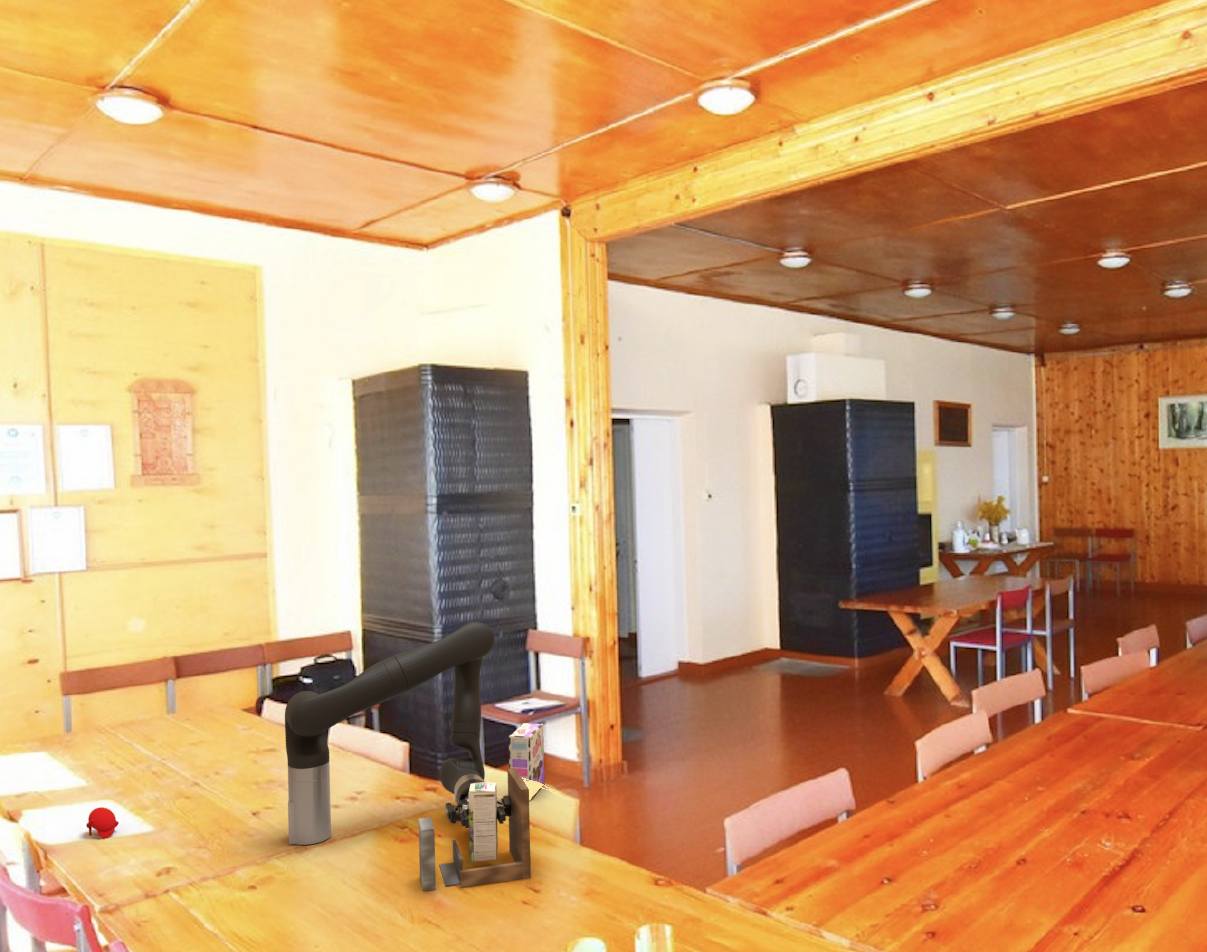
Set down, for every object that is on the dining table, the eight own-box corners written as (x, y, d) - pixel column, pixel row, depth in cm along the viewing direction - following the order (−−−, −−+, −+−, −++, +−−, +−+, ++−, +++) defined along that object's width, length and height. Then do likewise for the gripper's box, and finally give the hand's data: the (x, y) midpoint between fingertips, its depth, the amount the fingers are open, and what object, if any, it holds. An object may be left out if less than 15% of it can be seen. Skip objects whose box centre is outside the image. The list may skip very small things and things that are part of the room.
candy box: (531, 801, 238) (529, 736, 238) (509, 800, 239) (507, 735, 239) (545, 784, 251) (544, 722, 251) (524, 783, 252) (522, 722, 253)
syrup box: (470, 851, 198) (468, 783, 198) (498, 849, 199) (496, 781, 199) (469, 862, 193) (467, 792, 193) (498, 860, 193) (495, 790, 193)
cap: (79, 820, 223) (81, 813, 219) (104, 805, 227) (107, 798, 223) (96, 848, 222) (99, 842, 217) (121, 833, 226) (124, 826, 221)
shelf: (423, 893, 185) (421, 801, 185) (416, 864, 200) (414, 779, 200) (530, 877, 191) (528, 788, 191) (516, 850, 206) (514, 768, 206)
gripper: (439, 782, 207) (449, 807, 191) (504, 774, 212) (518, 798, 196) (440, 816, 207) (450, 844, 191) (505, 808, 212) (519, 834, 196)
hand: (484, 821), depth 194 cm, fingers closed on syrup box, 6 cm apart
